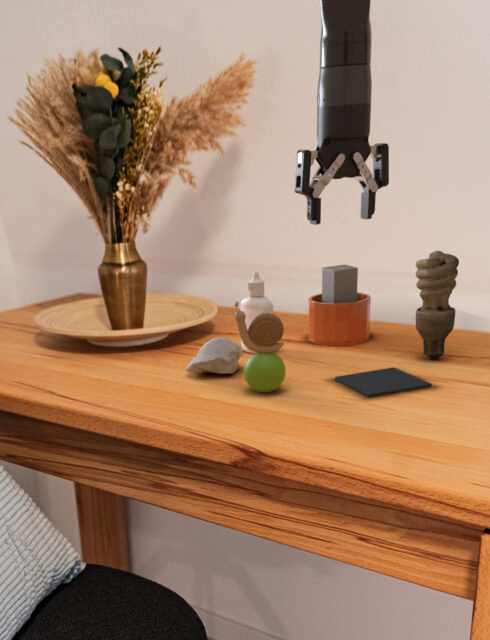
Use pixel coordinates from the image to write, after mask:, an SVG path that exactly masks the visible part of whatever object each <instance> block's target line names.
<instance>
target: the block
mask: <svg viewBox="0 0 490 640" xmlns="http://www.w3.org/2000/svg"><path fill="white" fill-rule="evenodd" d="M321 269H322V270H321V294H322V303H350V302H357V292H358V275H359V267H357V266H353V265H348V264H339V265H330V266H322V267H321Z"/></svg>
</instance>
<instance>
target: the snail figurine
mask: <svg viewBox="0 0 490 640" xmlns="http://www.w3.org/2000/svg"><path fill="white" fill-rule="evenodd" d="M234 307H235V313H234V317H235V318H234V319H235V321H236V325H237V330H238V333H239V337H240V340H241V339H242V342H243V343H244V345H245V346H246V347H247V348H248V349H250V350H252V351H254V352H256V353H253V354H252V355H250V357H249V358H248V359H247V361H246V362H245V365H244V368H243V377H244V381H245V382H246V384H247V385H248V387H249V388H250V389H252V390H253V391H254V392H257V393H263V394H265V393H271V392H274V391H276V390H277V389H278V388H279V387H280V386H282V384H283V383H284V380H285V377H286V374H287V373H286V372H287V371H286V366H285V362H284V361H283V359H282V358H281V356H279V354H277V353H276V352H278V351H279V350H280V349H282V347H283V346H284V345H285V344H284V341H283V342H282V341H281V342H280V340H281V339H282V338H283V336H284V331H285V329H284V324H283V322H282V320H281V319H280V317H279V316H277V315H276V314H274V313H273V314H270V313H263V314H260V315H258V316H256V317H255V318H254V319H253V320H252V321H251V323H250V325H249V328H248V330H247V327H246V323H245V318H246V315H245V313H244V312H243V311H240V310H238V309H237V308H238V307H239V302H238V301H235V302H234Z"/></svg>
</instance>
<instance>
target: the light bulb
mask: <svg viewBox="0 0 490 640" xmlns="http://www.w3.org/2000/svg"><path fill="white" fill-rule="evenodd" d="M459 265H460V260H459V258H458V257H457V256H456V255H453V254H450V253H446V252H443V251H442V250H434V251H433V252H430V253H429V255H428V258H423V259H419V260H417V261H416V262H415V267H416V272H415V277H416V278H417V279H418V280H417V282H416V285H415V286H416V288H417V289H418V290H419V291H420V292H419V297H420V299H421V300H422V306H420V307H417V308H416V310H415V329H416V331H417V333H418V335H420V337H421V339H422V345H423V347H422V348H423V352H422V354H423V355H424V356H427V357H428V359H429V360H430V361H437V360H440V357H443V356H444V354H445V342H446V339H447V338H448V336H449V335H450V333H452V331H453V330H454V326H455V320H456V308H455V307H452V306H451V305H450V301H449V300H450V297H451V295H452V293H453V290H454V289H456V287H457V280H456V278H457V277H458V274H459V271H458V267H459Z"/></svg>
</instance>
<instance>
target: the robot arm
mask: <svg viewBox="0 0 490 640" xmlns="http://www.w3.org/2000/svg"><path fill="white" fill-rule="evenodd" d="M371 2H372V1H371V0H319V7H320V8H319V9H320V18H321V19H320V20H321V22H320V23H321V27H320V39H319V72H318V81H317V96H316V104H317V105H316V106H317V107H316V139H317V145H316V148H315V150H310V149H298V150H297V151H296V155H295V175H294V193H296V194H299V195H302V196H304V197H305V198H306V219H307V221H309V223H310V225H315V226H316V225H321V221H322V215H321V214H322V198H321V197H320V196H321V194H322V193H323V191H324V190H325V188H326V186H328V185H329V184H330V183H331V181H332V180H341V179H346V178H347V179H348V178H349V179H354V180H355V181H356V182H357V183H358V184H359V186H360V187H361V189H362V191H363V192H361V193H360V219H362V220H371V219H372V218H373V216H374V215H375V211H376V196H377V191H378V190H380V189H381V188H384V187H388V185H389V184H390V146H389V144H388V143H386V142H385V143H384V142H380V143H379V142H377V143H374V144H372V145H370V142H369V138H370V134H371V115H372V113H371V112H372V87H373V82H372V81H373V80H372V68H371V67H372V65H371V63H372V39H373V38H372V24H371V17H370V15H371V14H370V13H371ZM369 157H370V159H371V160H372V171H371V170H370V168H369V167H368V165H367V163H366V162H367V160H368V159H369ZM315 161H316V162H317V164H318V165H319V167H318V168H317V170H316V172H315V173H314V174H313V176H312V178H311V168H312V166H313V165H314V163H315ZM311 179H312V180H311Z"/></svg>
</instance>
